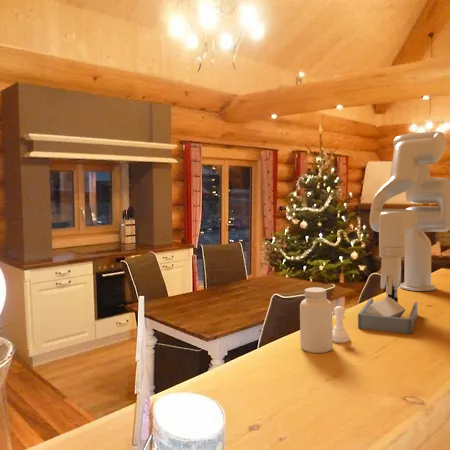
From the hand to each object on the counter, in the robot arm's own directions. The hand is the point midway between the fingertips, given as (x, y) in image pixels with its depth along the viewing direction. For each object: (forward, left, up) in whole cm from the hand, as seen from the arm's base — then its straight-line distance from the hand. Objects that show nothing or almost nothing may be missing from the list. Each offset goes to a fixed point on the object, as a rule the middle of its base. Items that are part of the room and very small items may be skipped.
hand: (391, 310), depth 141 cm
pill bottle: (+28, -28, -2) cm, 39 cm away
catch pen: (+6, -3, -2) cm, 7 cm away
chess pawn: (+22, -21, -2) cm, 30 cm away
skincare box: (+4, 0, +2) cm, 4 cm away
